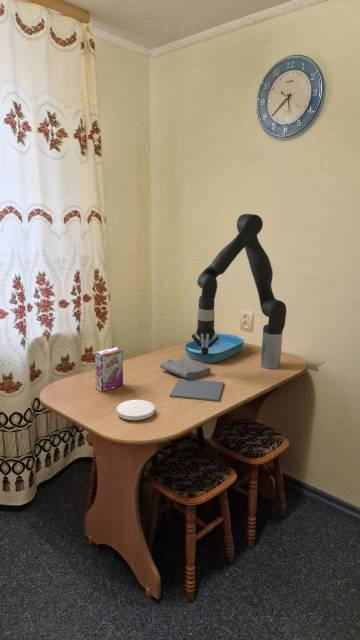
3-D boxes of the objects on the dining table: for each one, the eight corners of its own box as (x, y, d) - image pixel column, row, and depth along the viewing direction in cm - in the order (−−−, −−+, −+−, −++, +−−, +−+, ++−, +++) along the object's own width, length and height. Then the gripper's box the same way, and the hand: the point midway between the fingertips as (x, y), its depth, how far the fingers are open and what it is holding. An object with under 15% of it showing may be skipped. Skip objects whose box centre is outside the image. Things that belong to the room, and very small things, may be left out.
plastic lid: (155, 422, 155) (155, 415, 155) (115, 423, 154) (115, 416, 154) (154, 405, 169) (154, 399, 168) (117, 406, 168) (117, 400, 167)
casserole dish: (211, 368, 209) (211, 354, 207) (175, 358, 222) (176, 345, 221) (250, 351, 236) (251, 338, 235) (216, 343, 250) (217, 331, 248)
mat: (179, 379, 194) (179, 378, 194) (223, 383, 190) (223, 382, 190) (169, 396, 176) (169, 395, 176) (218, 401, 172) (218, 399, 172)
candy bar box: (102, 392, 179) (101, 354, 175) (95, 389, 183) (94, 352, 179) (124, 385, 187) (123, 349, 183) (117, 382, 190) (116, 346, 186)
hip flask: (186, 372, 190) (156, 361, 204) (185, 381, 191) (156, 369, 205) (210, 367, 201) (181, 356, 215) (210, 375, 201) (181, 364, 216)
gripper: (221, 317, 197) (220, 353, 201) (193, 315, 200) (192, 351, 204) (219, 321, 190) (218, 358, 194) (190, 319, 193) (189, 356, 197)
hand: (204, 354), depth 199 cm, fingers closed
